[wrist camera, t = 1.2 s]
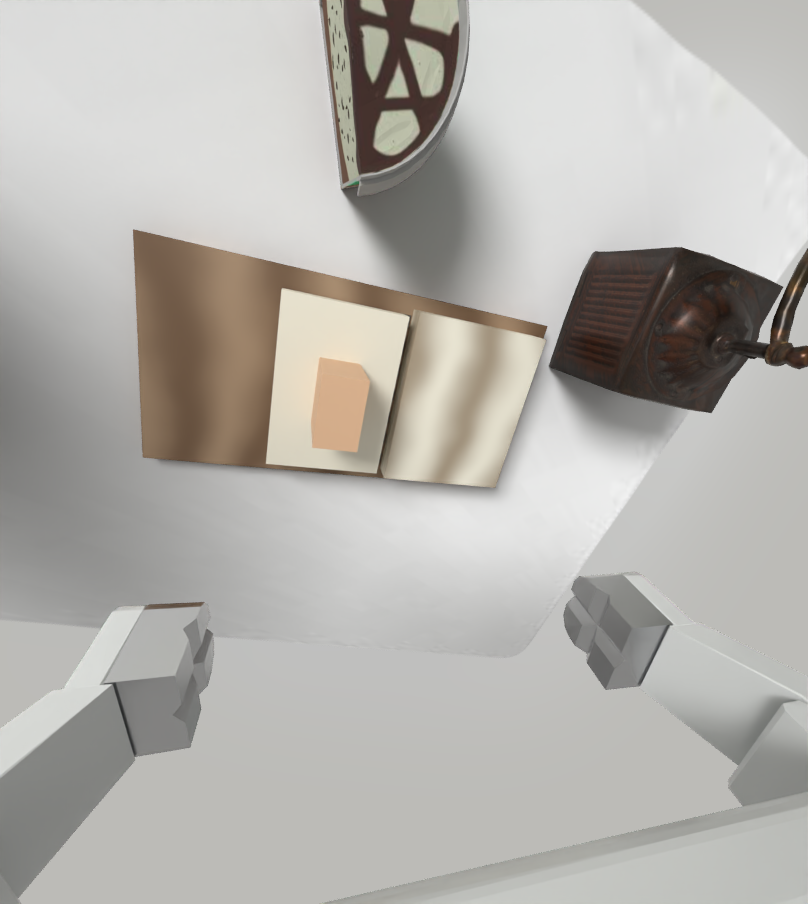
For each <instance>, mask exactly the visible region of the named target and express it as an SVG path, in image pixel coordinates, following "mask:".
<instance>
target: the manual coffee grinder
mask: <svg viewBox="0 0 808 904" xmlns="http://www.w3.org/2000/svg"><path fill="white" fill-rule="evenodd" d="M807 283H808V249H807V250H806V252H805V254H804V255H803V257H802V259H801V260H800V262H799V263H798V265H797V267H796V268H795V271H794V273H793V275H792V277H791V279H790V281H789V284H788V286H787V288H786V290H785V292H784V294H783V297H782V299H781V301H780V304H779V306H778V309H777V311H776V314H775V316H774V319H773V323H772V328H771V336H770V344H767V343H760V342H757V340H758V338H759V331H760V328H761V326H762V324H763V322H764V320H765V319H766V317H767V315H768V313H769V311H770V310H771V308H772V306H773V304H774V303H775V301H776V299H777V297H778V295H779V294H780V292H781V290H782V288H783V287H782V286H780V285H778V284H776V283H774V282H772V281H770V280H768V279H767V278H765V277H762V276H760V275H758V274H755V273H753V272H750V271H747V270H745V269H742V268H739V267H737V266H735V265H732V264H729V263H727V262H724V261H722V260H720V259H717V258H715V257H713V256H711V255H707V254H703V253H698V252H694V251H691V250H688V249H685V248H682V247H674V248H659V249H645V250H630V251H614V252H597V251H595V252H594V253H593V254H592V255H591V257H590V259H589V261H588V263H587V265H586V267H585V268H584V270H583V272H582V275H581V278H580V280H579V283H578V285H577V288H576V290H575V293H574V295H573V298H572V301H571V303H570V306H569V309H568V312H567V314H566V317H565V320H564V322H563V325H562V328H561V331H560V334H559V337H558V340H557V343H556V346H555V349H554V352H553V355H552V358H551V362H550V365H549V366H550V367H551V368H553V369H556V370H559V371H562V372H564V373H567V374H569V375H572V376H574V377H577V378H580V379H582V380H585V381H588V382H590V383H593V384H596V385H598V386H601V387H604V388H606V389H609V390H612V391H615V392H618V393H621V394H624V395H627V396H630V397H634V398H639V399H643V400H647V401H652V402H656V403H660V404H665V405H669V406H674V407H678V408H682V409H688V410H694V411H702V412H708V413H712V411H713V410H714V408H715V406H716V404H717V403H718V401H719V399H720V398H721V396H722V394H723V392H724V391H725V389H726V387H727V386H728V384H729V382H730V381H731V379H732V378H733V377H734V376H735V375H736V373H737V372H738V371H739V370H740V368H741V367H742V366H743V365H744V363H745V362H746V361H747V359H748V358H750V359H755V358H757V357H758V358H763V359H765V362H766V363H767V364H769V365H772V366H781V365H784V364H788V365H789V366H791V367H793V368H797V369H801V368H804V367H807V366H808V346H800V347H793V345H792V343H788V339H789V335H790V331H791V327H792V324H793V319H794V314H795V310H796V308H797V305H798V303H799V301H800V298H801V296H802V294H803V292H804V289H805V287H806V285H807Z"/></svg>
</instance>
